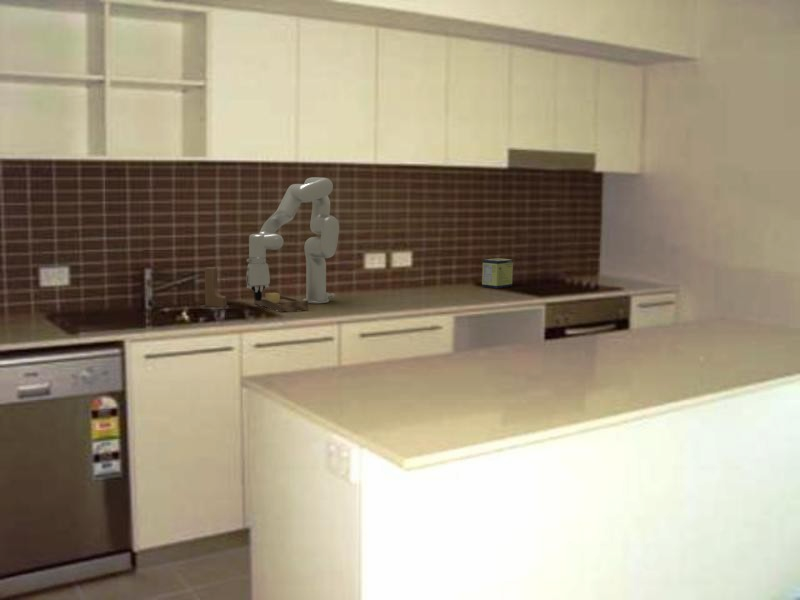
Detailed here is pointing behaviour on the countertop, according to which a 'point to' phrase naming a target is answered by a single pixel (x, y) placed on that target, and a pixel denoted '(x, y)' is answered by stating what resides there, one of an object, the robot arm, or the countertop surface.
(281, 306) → the trap board
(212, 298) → the wooden block
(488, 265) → the protein box
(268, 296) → the block
